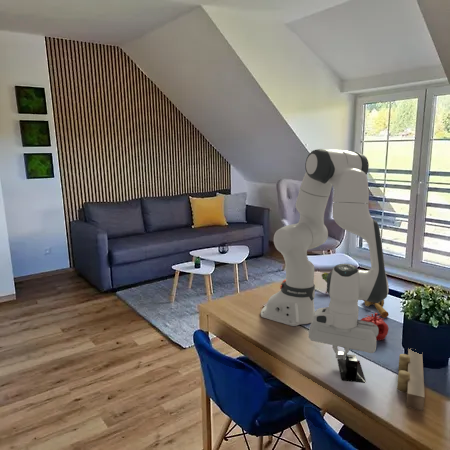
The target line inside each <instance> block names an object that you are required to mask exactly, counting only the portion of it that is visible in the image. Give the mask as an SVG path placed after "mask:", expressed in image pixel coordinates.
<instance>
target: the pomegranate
mask: <svg viewBox="0 0 450 450" xmlns="http://www.w3.org/2000/svg"><path fill="white" fill-rule="evenodd" d="M378 314H379V312H374V314H373V313H371V316H370V315H368V314H367V315H365V316H364V317H362V318H360V320H362V321H366V322H372V323H374V324H375V325H377V327H378V329H379V331H378V336H377V337H376V342H377V341H378V342H379V341H382V340H384V339H386V338H387V335H388V333H389V329H390V327H389V326H388V324H387V322H385V319H386V318H383V317H382V316H381V315H378ZM373 326H374V325H373Z"/></svg>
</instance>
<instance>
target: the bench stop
mask: <svg viewBox="0 0 450 450" xmlns="http://www.w3.org/2000/svg"><path fill="white" fill-rule="evenodd" d="M411 349H412V348H410V349H409V347H408V349H407V354H406V353H400V354H399V360H398V366H397V367H398V368H397V370H398V376H397V385H396V389H397V391H398V392H401V393H406V405H405V406H406V408H409V409H414V410H417V411H422V412H424V407H425V398H426V397H425V383H424V382H425V379H424V363H423V362H424V361H423V353H422V354H419V353H417V352H414V351H412V350H411Z"/></svg>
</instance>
